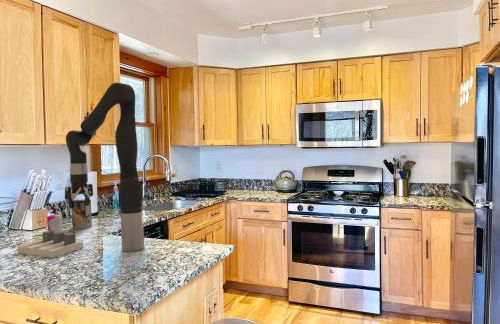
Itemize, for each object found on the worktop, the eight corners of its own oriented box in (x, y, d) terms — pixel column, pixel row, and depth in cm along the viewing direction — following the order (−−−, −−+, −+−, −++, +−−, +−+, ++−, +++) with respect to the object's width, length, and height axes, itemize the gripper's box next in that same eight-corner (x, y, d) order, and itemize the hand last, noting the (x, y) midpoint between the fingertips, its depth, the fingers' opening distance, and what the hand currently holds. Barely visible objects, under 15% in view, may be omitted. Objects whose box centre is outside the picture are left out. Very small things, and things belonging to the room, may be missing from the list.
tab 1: (49, 241, 176) (49, 230, 176) (54, 241, 175) (53, 231, 175) (43, 243, 173) (42, 232, 173) (47, 243, 172) (47, 232, 171)
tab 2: (60, 242, 173) (59, 231, 173) (64, 243, 172) (64, 232, 172) (53, 244, 170) (53, 233, 170) (58, 245, 169) (57, 234, 169)
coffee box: (92, 226, 216) (91, 199, 215) (86, 228, 210) (85, 201, 209) (78, 226, 217) (77, 199, 216) (71, 228, 211) (70, 201, 210)
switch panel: (49, 243, 179) (49, 237, 179) (82, 247, 170) (82, 241, 170) (17, 252, 164) (17, 245, 164) (52, 257, 156) (52, 250, 155)
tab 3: (70, 243, 171) (70, 232, 170) (75, 244, 170) (75, 233, 169) (64, 245, 168) (63, 234, 167) (69, 246, 166) (69, 235, 166)
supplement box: (63, 234, 196) (62, 213, 195) (60, 237, 190) (59, 215, 190) (51, 235, 195) (50, 214, 194) (48, 238, 189) (47, 216, 188)
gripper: (85, 171, 180) (86, 204, 181) (60, 173, 167) (61, 209, 167) (96, 172, 177) (97, 205, 178) (71, 174, 164) (73, 210, 164)
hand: (79, 207), depth 172 cm, fingers open, 8 cm apart
